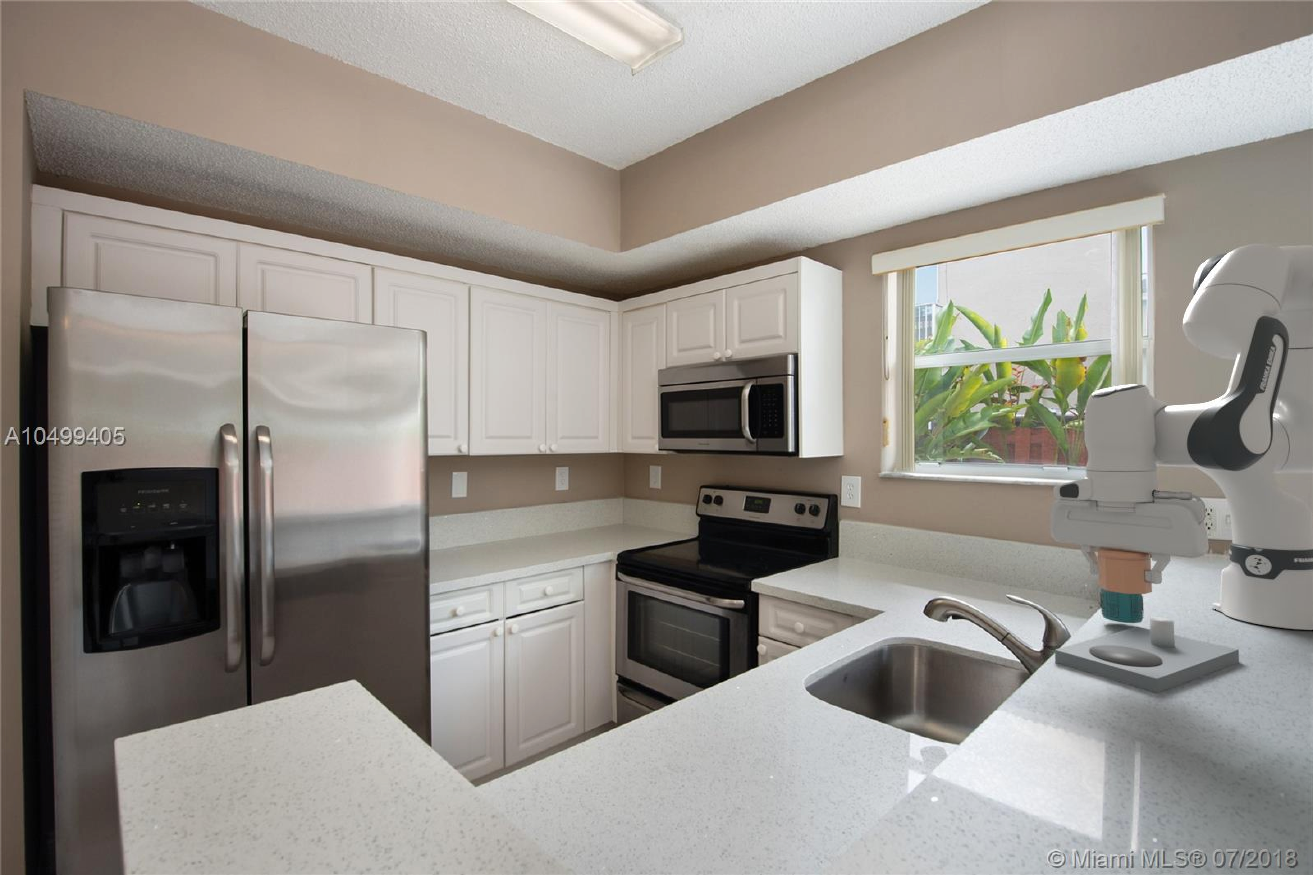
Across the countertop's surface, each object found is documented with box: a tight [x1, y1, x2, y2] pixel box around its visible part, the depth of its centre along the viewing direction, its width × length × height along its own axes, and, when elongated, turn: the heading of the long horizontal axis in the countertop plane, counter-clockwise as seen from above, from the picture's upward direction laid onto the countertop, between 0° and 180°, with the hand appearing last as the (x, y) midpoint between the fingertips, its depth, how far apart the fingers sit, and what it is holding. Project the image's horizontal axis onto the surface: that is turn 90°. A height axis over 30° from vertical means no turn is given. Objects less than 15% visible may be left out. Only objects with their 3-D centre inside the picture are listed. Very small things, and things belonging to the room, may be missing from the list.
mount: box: [1054, 616, 1240, 694], centre depth 97 cm, size 24×14×6 cm, turn 116°
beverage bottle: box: [1098, 547, 1145, 624], centre depth 116 cm, size 6×7×20 cm
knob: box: [1097, 547, 1153, 595], centre depth 95 cm, size 6×6×6 cm
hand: (1124, 578), depth 95 cm, fingers closed on knob, 6 cm apart
